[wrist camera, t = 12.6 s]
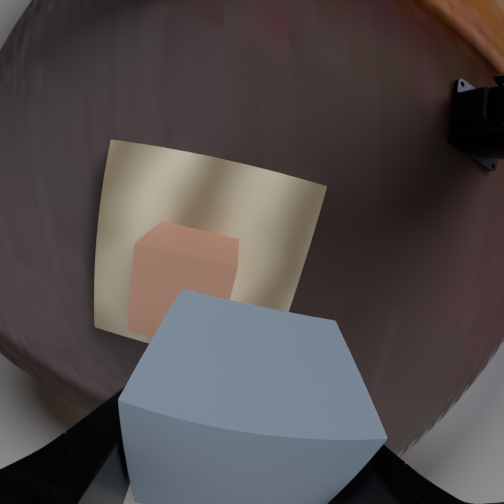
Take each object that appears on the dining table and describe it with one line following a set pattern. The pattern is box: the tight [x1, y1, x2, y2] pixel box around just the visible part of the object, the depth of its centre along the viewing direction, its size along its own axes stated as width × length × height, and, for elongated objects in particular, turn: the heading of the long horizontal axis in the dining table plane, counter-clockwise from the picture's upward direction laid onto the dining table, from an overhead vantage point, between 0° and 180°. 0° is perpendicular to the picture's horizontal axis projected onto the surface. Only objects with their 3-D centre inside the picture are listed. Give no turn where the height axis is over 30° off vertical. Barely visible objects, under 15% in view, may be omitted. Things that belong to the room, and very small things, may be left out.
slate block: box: [118, 289, 388, 504], centre depth 7 cm, size 5×5×5 cm
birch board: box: [94, 140, 327, 343], centre depth 20 cm, size 14×14×2 cm
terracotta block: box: [128, 221, 239, 337], centre depth 16 cm, size 5×5×5 cm
